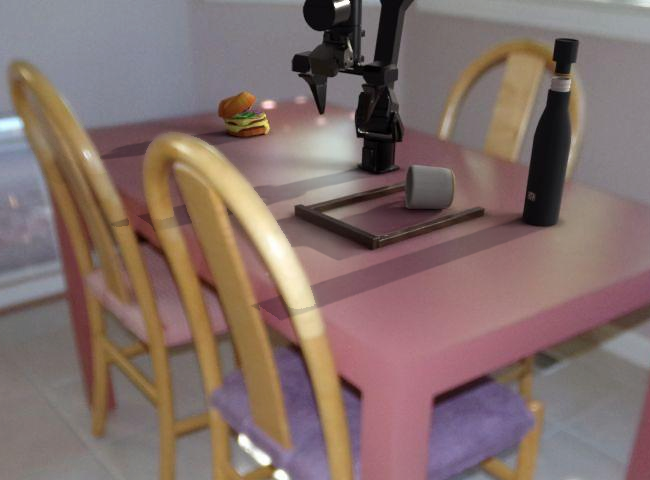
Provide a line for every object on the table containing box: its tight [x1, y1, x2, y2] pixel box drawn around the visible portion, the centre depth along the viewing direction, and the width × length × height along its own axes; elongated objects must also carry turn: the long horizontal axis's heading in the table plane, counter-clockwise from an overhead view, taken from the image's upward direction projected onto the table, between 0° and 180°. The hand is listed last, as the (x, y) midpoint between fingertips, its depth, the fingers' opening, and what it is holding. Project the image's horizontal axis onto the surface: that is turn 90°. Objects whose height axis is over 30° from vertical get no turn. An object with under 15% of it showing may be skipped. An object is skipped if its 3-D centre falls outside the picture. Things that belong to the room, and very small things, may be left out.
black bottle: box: [521, 37, 580, 227], centre depth 135 cm, size 6×6×30 cm
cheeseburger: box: [217, 91, 270, 138], centre depth 183 cm, size 10×11×10 cm
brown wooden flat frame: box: [293, 180, 486, 250], centre depth 141 cm, size 28×20×2 cm
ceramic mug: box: [404, 164, 456, 210], centre depth 145 cm, size 11×8×8 cm
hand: (343, 118), depth 144 cm, fingers open, 9 cm apart
